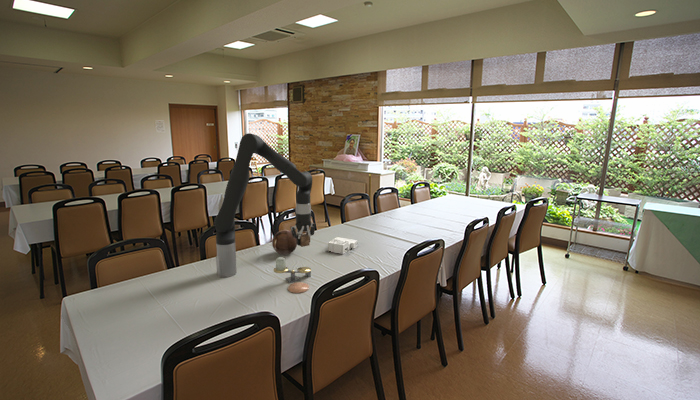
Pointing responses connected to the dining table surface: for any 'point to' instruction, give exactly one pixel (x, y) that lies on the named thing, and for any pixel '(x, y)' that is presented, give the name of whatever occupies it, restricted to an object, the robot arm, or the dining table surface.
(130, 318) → the dining table surface
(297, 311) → the dining table surface
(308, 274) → the balance
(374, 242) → the dining table surface
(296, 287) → the terracotta saucer
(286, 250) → the wooden sphere
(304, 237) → the walnut block
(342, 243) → the house
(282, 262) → the grey cup
